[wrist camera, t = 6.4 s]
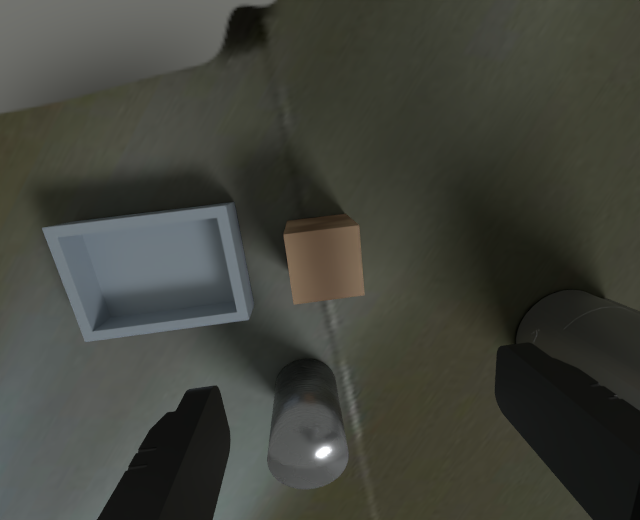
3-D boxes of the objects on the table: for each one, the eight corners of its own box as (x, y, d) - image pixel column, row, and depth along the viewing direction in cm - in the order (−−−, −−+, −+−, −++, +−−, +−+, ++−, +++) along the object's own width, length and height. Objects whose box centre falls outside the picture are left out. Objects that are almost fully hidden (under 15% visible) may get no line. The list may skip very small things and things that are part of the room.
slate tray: (234, 201, 24) (225, 205, 22) (254, 304, 27) (248, 319, 24) (72, 221, 24) (41, 227, 21) (108, 323, 27) (85, 341, 24)
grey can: (332, 355, 29) (344, 420, 21) (338, 405, 31) (351, 482, 23) (271, 363, 29) (261, 432, 21) (280, 414, 31) (274, 494, 23)
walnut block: (345, 213, 25) (359, 225, 20) (350, 269, 27) (364, 295, 21) (287, 220, 25) (283, 234, 19) (294, 276, 27) (293, 304, 21)
